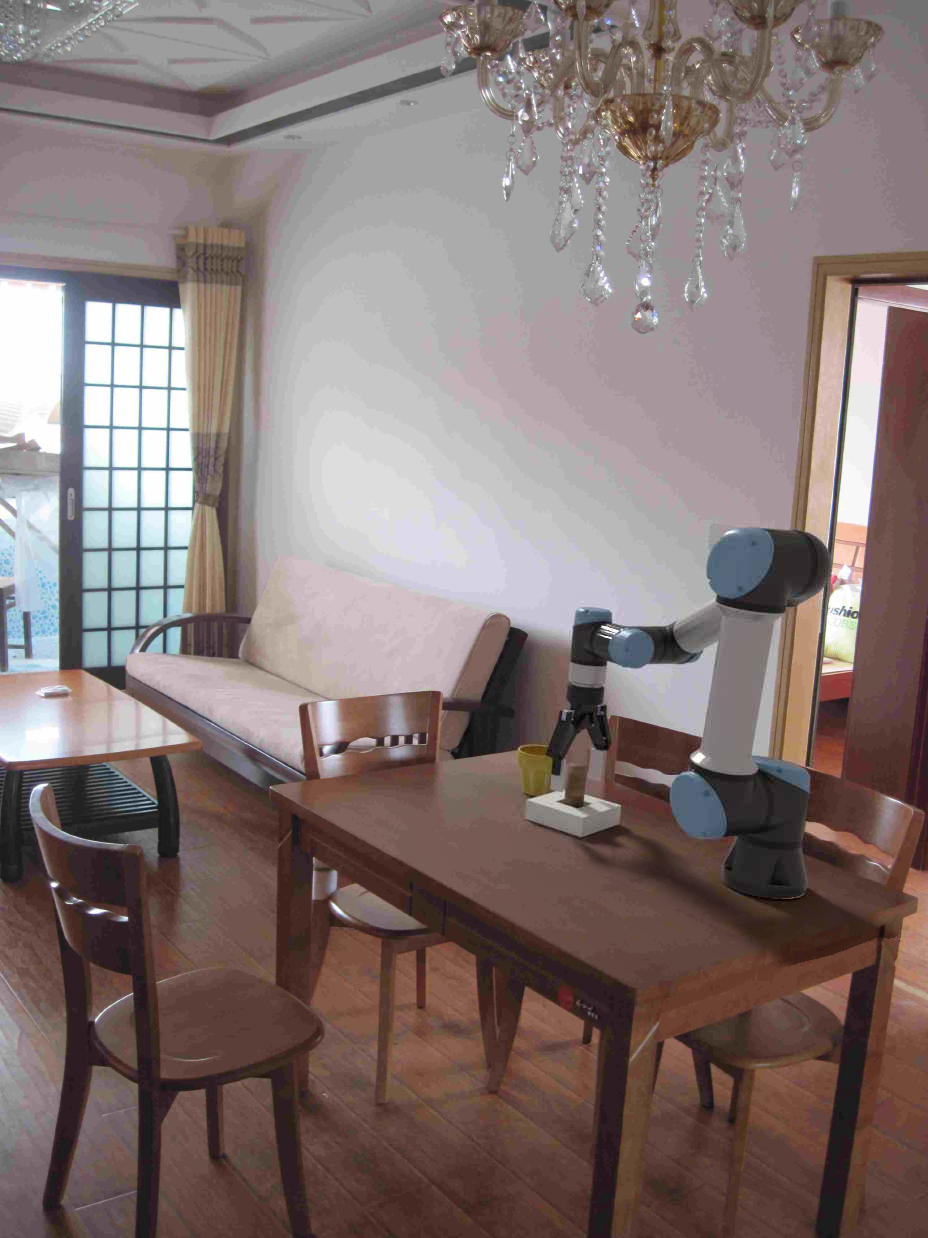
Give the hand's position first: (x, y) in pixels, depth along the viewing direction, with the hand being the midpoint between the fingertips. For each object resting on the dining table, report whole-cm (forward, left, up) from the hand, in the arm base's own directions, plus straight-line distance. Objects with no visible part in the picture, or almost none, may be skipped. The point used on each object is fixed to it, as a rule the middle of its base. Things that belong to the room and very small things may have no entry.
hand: (575, 785), depth 236 cm
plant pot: (+17, -11, -8) cm, 21 cm away
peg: (0, 0, -8) cm, 8 cm away
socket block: (0, 0, -8) cm, 8 cm away
